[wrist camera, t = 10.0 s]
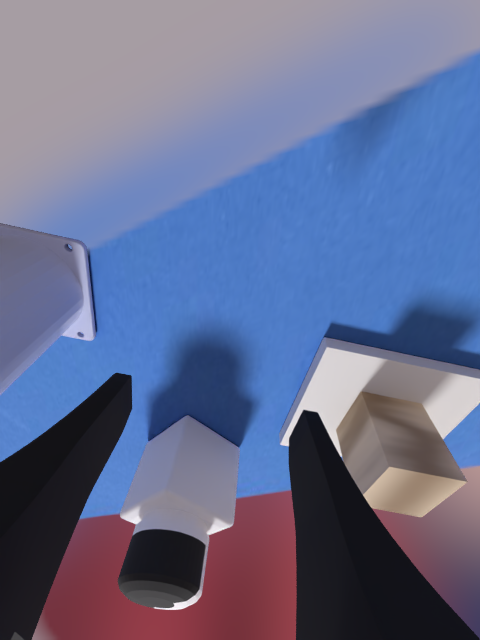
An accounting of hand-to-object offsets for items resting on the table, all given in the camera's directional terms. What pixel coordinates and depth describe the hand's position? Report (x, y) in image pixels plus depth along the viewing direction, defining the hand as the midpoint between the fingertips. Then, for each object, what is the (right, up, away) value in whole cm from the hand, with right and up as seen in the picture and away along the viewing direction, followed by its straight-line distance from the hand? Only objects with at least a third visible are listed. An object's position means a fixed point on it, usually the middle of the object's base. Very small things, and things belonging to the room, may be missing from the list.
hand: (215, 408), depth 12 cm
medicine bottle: (-4, -9, +18) cm, 20 cm away
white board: (+12, -4, +13) cm, 18 cm away
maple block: (+12, -4, +12) cm, 17 cm away
